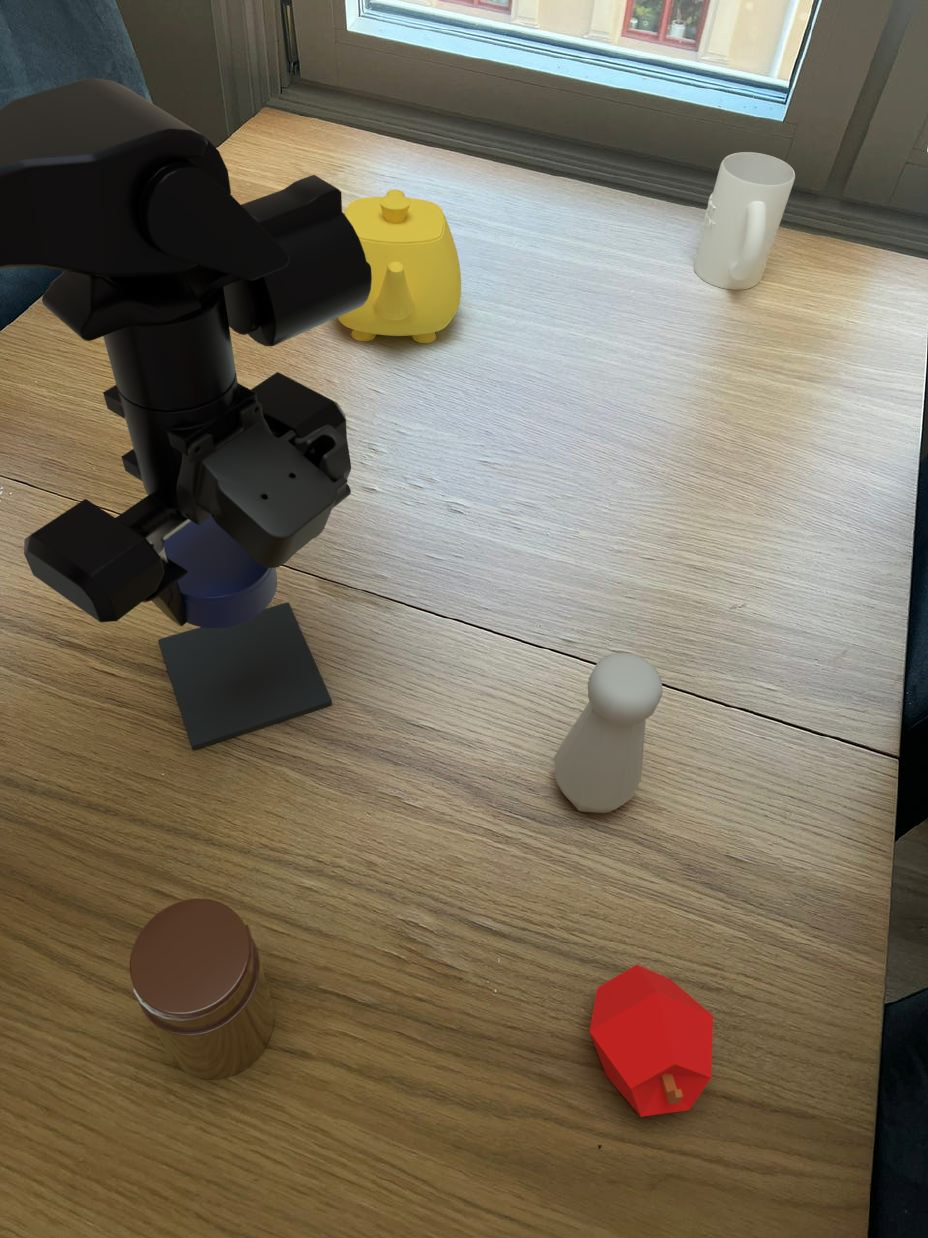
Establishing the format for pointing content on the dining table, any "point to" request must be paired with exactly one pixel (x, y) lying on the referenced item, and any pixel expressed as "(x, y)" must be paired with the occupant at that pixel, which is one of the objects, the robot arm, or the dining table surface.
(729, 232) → the mug
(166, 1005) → the jam jar
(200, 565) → the jar lid
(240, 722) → the mat
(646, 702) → the salt shaker
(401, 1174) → the dining table surface
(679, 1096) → the apple
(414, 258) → the teapot
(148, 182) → the robot arm
